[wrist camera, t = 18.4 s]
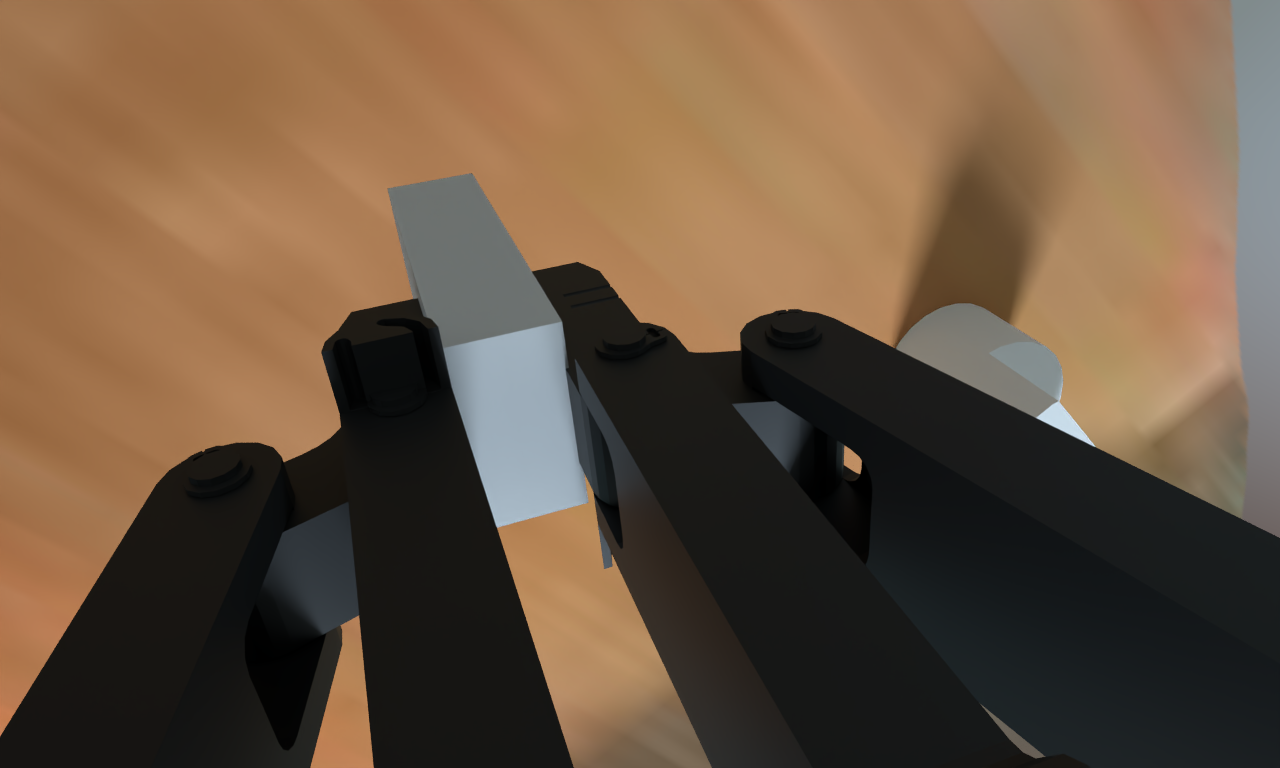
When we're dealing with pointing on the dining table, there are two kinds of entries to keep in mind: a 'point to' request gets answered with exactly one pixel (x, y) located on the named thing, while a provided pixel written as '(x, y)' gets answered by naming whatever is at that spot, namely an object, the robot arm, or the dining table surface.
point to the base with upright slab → (993, 361)
